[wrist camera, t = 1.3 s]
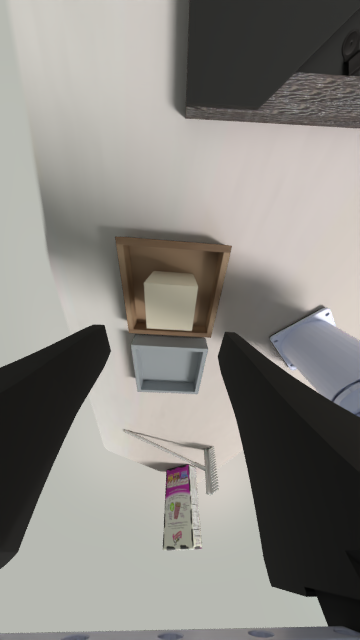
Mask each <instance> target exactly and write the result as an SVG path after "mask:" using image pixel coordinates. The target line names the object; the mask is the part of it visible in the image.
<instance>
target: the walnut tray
mask: <svg viewBox="0 0 360 640" xmlns="http://www.w3.org/2000/svg"><path fill="white" fill-rule="evenodd" d="M115 239H116V246H117V253H118V260H119V267H120V274H121V281H122V288H123V295H124V301H125V308H126V315H127V322H128V329H129V333H138V334H156V335H174V336H192V337H210V338H211V335H212V330H213V326H214V321H215V317H216V313H217V308H218V304H219V300H220V295H221V291H222V287H223V282H224V278H225V274H226V269H227V265H228V261H229V256H230V252H231V247H232V246H228V245H218V244H206V243H193V242H181V241H168V240H156V239H143V238H131V237H115ZM153 271H162V272H176V273H190V274H193V275H194V277H195V280H196V282H197V285H198V291H197V298H196V305H195V313H194V320H193V327H192V331H185V330H168V329H150V328H147V325H146V310H145V294H144V282H145V281H146V280H147V278H148V277H149V276H150V275H151V274H152V272H153Z"/></svg>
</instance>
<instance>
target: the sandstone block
mask: <svg viewBox="0 0 360 640" xmlns="http://www.w3.org/2000/svg"><path fill="white" fill-rule="evenodd" d="M197 291H198V285H197V282H196V280H195V277H194V275H193V274H190V273H176V272H162V271H153V272H152V274H151V275H150V276H149V277H148V278H147V280H146V281H145V282H144V294H145V310H146V325H147V328H150V329H168V330H185V331H192V327H193V320H194V313H195V305H196V298H197Z"/></svg>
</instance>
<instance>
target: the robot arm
mask: <svg viewBox="0 0 360 640" xmlns="http://www.w3.org/2000/svg"><path fill="white" fill-rule="evenodd" d="M270 340H271V342H272V343H273V345H274V346H275V348H276V349H277V351H278V352H279V353H280V355H281V356H282V358H283V359H284V361H285V362H286V364H287V365H288V367H289V368H290V369H291V370H296V369H298V370H299V371H300V373H301V374H302V375H303V376H304V377H305V378H306V379H307V380H308V381H309V382H310V384H311V385H312V386H313V387H314V388H315V389H316V390H317V391H318V392H319V393H320V394H319V393H317V392H316V391H314V390H313V389H311V388H310V387H308V386H307V385H305V384H303V383H302V382H300V381H299V380H297V379H296V378H294V377H293V376H291V375H290V374H288V373H287V372H286V371H284V370H283V369H281V368H280V367H279V366H277V365H276V364H275V363H273V362H272V361H271V360H269V359H268V358H267V357H265V356H264V355H263V354H262V353H260V352H259V351H258V350H256V349H255V348H254V347H253V346H251V345H250V344H249V343H248V342H247V341H245V340H244V339H243V338H242V337H240V336H239V335H238V334H236V333H233V332H225V333H224V337H223V340H222V344H221V347H220V351H219V354H218V360H219V366H220V370H221V374H222V377H223V380H224V383H225V386H226V389H227V392H228V395H229V398H230V401H231V404H232V407H233V410H234V413H235V417H236V420H237V424H238V429H239V433H240V437H241V441H242V445H243V450H244V454H245V459H246V464H247V468H248V473H249V478H250V483H251V488H252V494H253V498H254V504H255V510H256V515H257V521H258V527H259V532H260V538H261V544H262V550H263V557H264V561H265V564H266V569H267V573H268V576H269V580H270V583H271V586H272V587H276V588H279V589H282V590H286V591H289V592H292V593H296V594H300V595H303V596H306V597H308V596H309V597H314V596H315V597H316V596H317V598H318V600H319V603H320V606H321V608H322V611H323V614H324V616H325V619H326V621H327V624H328V627H289V628H288V627H283V628H238V629H237V628H236V629H192V630H191V629H189V630H143V631H98V632H97V631H95V632H48V633H2V634H1V633H0V640H360V340H358V339H356V338H355V337H353V336H351V335H349V334H348V333H346V332H344V331H342V330H340V329H339V328H337V327H336V325H335V322H334V319H333V316H332V313H331V310H330V309H329V308H323V309H321V310H319V311H317V312H315V313H313V314H311V315H310V316H308V317H306V318H304V319H302V320H300V321H299V322H297V323H295V324H293V325H291V326H289V327H287V328H286V329H284V330H282V331H280V332H278V333H276V334H274V335H273V336H271V337H270ZM110 352H111V350H110V346H109V341H108V337H107V333H106V329H105V325H92V326H89V327H87V328H85V329H83V330H80V331H78V332H76V333H74V334H72V335H70V336H68V337H66V338H64V339H62V340H60V341H58V342H56V343H55V344H52V345H50V346H48V347H46V348H44V349H41V350H40V351H37V352H35V353H33V354H31V355H29V356H26V357H24V358H22V359H20V360H17V361H15V362H13V363H10V364H8V365H6V366H3V367H1V368H0V569H1V568H2V567H4V566H5V565H6V564H7V563H8V562H9V561H10V560H11V559H12V558H13V557H14V556H15V555H16V553H17V552H18V550H19V548H20V545H21V542H22V539H23V537H24V534H25V531H26V529H27V527H28V524H29V522H30V519H31V517H32V514H33V511H34V509H35V506H36V504H37V501H38V498H39V496H40V494H41V491H42V489H43V487H44V484H45V482H46V480H47V477H48V475H49V473H50V470H51V468H52V466H53V463H54V461H55V459H56V457H57V454H58V452H59V450H60V448H61V446H62V443H63V441H64V439H65V437H66V435H67V433H68V431H69V429H70V427H71V424H72V422H73V420H74V418H75V416H76V414H77V412H78V410H79V409H80V407H81V405H82V403H83V402H84V400H85V398H86V397H87V395H88V393H89V392H90V390H91V388H92V387H93V385H94V383H95V382H96V380H97V378H98V377H99V375H100V373H101V372H102V370H103V368H104V366H105V364H106V362H107V360H108V357H109V355H110Z"/></svg>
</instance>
